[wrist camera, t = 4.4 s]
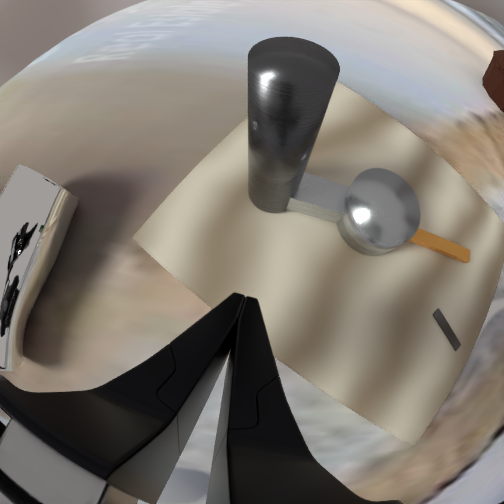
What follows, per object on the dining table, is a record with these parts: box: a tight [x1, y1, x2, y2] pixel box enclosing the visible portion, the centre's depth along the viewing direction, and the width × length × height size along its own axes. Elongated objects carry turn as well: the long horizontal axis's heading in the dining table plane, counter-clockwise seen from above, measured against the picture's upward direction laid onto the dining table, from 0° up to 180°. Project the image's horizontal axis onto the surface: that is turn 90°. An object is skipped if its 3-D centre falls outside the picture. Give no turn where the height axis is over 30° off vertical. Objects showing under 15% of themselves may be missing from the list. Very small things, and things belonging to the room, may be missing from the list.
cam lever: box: [248, 37, 470, 263], centre depth 13 cm, size 18×5×11 cm, turn 74°
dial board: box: [133, 82, 504, 446], centre depth 19 cm, size 26×22×2 cm
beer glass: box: [0, 164, 79, 371], centre depth 16 cm, size 7×7×15 cm
